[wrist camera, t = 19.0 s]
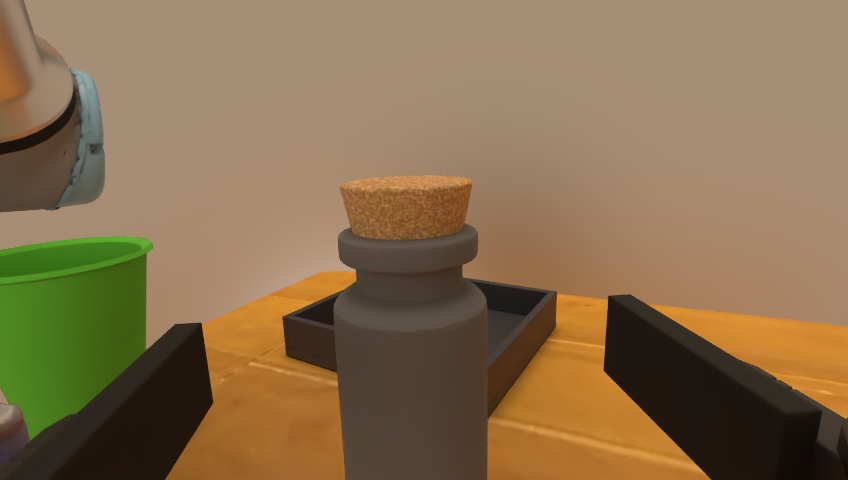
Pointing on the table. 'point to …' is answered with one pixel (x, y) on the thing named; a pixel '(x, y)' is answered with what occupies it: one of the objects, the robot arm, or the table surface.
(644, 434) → the table surface
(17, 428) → the flask
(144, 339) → the cup
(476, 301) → the bottle
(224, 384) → the table surface
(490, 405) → the baking tray
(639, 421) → the table surface
